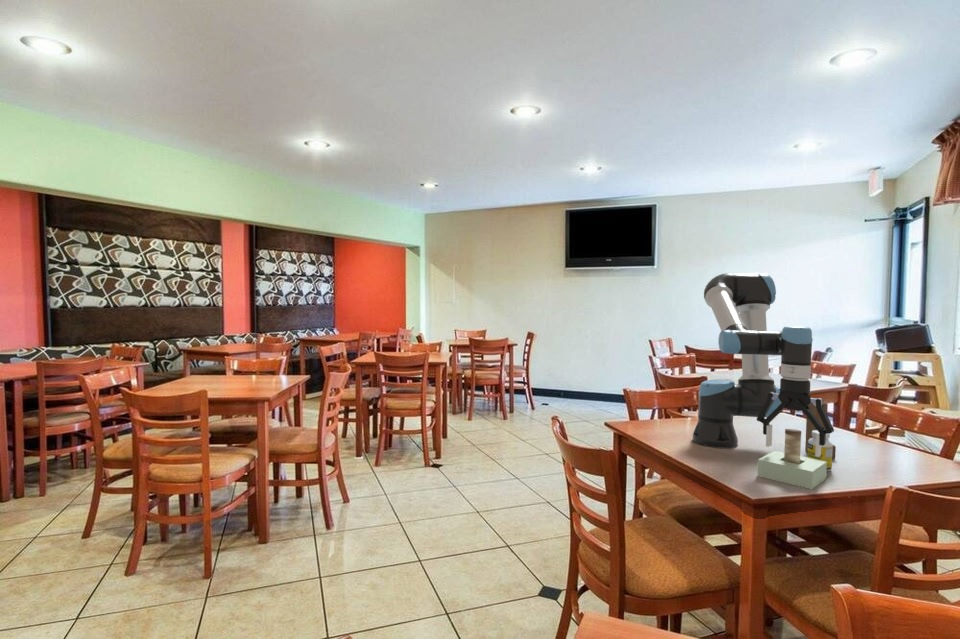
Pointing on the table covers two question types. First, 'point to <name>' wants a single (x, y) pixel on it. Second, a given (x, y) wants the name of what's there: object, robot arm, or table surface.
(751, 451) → the table surface
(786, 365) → the robot arm
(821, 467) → the socket block
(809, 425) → the wooden block
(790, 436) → the dowel
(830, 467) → the pill bottle
